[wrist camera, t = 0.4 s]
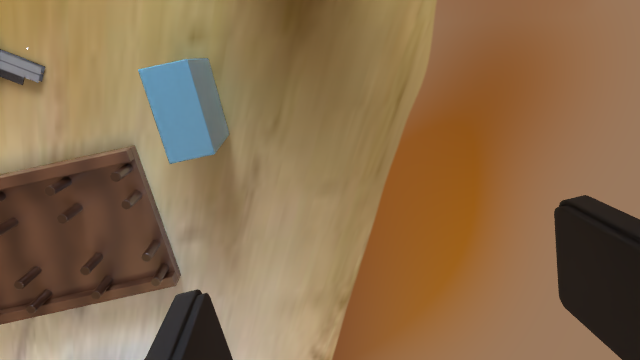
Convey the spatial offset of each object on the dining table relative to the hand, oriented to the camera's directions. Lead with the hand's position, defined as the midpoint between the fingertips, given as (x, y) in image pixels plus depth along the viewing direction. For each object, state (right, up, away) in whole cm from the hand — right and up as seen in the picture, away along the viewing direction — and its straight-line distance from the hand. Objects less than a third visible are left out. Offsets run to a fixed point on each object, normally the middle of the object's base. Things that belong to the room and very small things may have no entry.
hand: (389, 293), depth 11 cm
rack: (-31, -3, +34) cm, 46 cm away
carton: (-14, +11, +31) cm, 36 cm away
